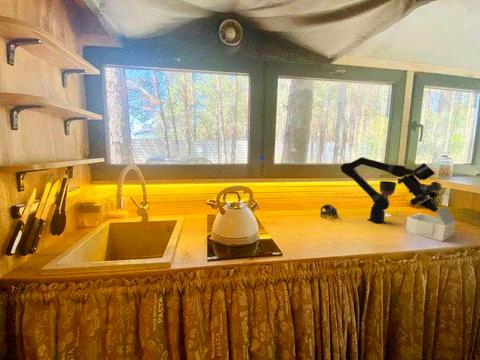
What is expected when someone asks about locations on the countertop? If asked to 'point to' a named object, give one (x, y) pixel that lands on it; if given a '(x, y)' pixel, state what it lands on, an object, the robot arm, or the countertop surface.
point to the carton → (429, 227)
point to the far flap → (445, 215)
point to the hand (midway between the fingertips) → (438, 212)
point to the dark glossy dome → (328, 210)
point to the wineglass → (387, 189)
